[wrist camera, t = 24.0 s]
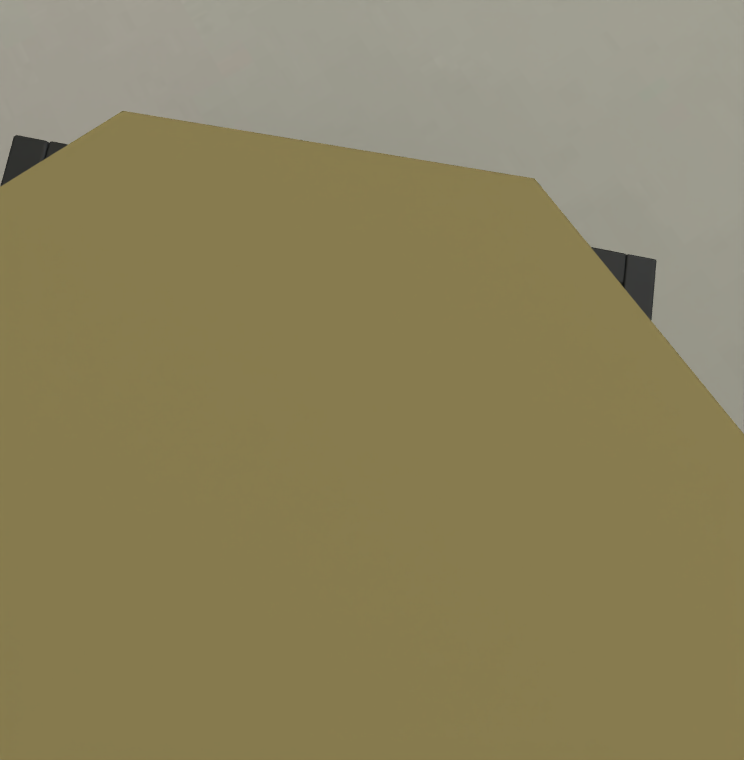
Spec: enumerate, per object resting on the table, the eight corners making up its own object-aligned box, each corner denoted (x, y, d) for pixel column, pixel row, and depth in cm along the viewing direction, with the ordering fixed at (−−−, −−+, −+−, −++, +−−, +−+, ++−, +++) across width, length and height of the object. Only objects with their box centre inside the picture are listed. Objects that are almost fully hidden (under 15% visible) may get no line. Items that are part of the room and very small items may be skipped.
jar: (117, 410, 19) (-582, 209, 4) (394, 338, 20) (639, -14, 5) (187, 706, 18) (-390, 1880, 3) (473, 610, 19) (1044, 1103, 4)
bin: (-6, 732, 18) (-193, 892, 11) (109, 242, 20) (12, 132, 14) (496, 788, 19) (599, 961, 13) (548, 322, 22) (657, 258, 15)
